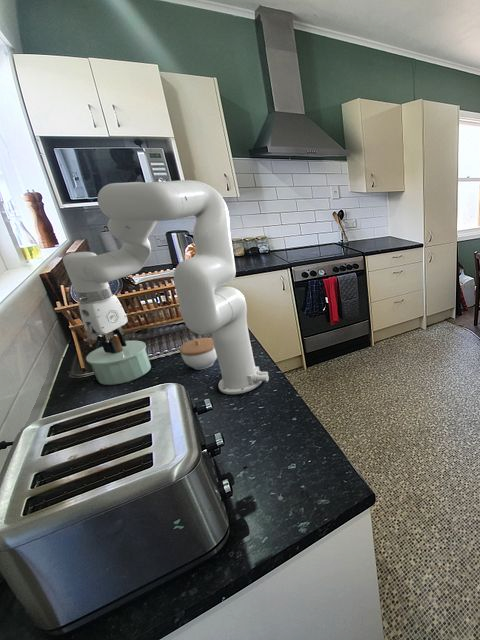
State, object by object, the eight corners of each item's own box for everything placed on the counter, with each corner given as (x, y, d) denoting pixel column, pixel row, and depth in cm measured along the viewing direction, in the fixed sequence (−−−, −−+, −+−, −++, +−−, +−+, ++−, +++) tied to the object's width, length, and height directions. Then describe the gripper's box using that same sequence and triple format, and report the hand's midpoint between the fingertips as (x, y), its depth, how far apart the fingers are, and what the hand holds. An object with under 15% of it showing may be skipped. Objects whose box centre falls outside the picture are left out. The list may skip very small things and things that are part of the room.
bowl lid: (157, 344, 117) (151, 326, 114) (122, 367, 104) (115, 347, 101) (114, 342, 117) (107, 325, 114) (73, 365, 104) (64, 346, 101)
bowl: (160, 362, 120) (154, 343, 116) (129, 385, 107) (121, 364, 104) (121, 361, 119) (114, 342, 116) (85, 384, 107) (76, 363, 104)
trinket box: (204, 375, 113) (198, 350, 109) (177, 370, 115) (169, 346, 111) (228, 359, 123) (222, 335, 119) (202, 355, 125) (195, 331, 121)
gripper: (82, 305, 95) (106, 363, 102) (129, 286, 110) (147, 337, 117) (54, 304, 94) (80, 362, 102) (105, 285, 109) (125, 336, 117)
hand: (116, 348), depth 109 cm, fingers closed on bowl lid, 3 cm apart
